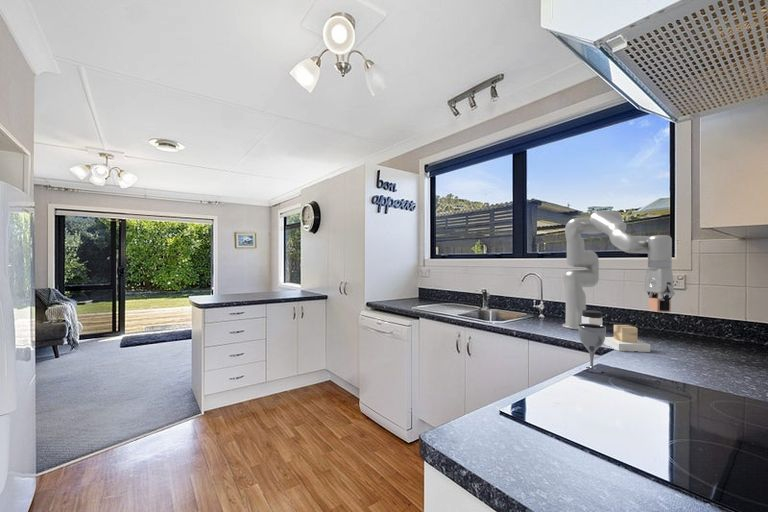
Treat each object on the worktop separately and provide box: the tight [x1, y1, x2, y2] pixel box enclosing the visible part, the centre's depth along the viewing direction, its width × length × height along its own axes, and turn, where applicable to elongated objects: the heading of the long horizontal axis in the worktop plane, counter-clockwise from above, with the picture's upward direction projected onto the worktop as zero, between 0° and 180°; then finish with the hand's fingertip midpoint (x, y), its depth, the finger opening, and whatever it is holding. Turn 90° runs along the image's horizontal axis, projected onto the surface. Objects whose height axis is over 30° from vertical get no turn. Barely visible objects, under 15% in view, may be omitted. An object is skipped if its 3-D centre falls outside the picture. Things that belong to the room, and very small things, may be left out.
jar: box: [582, 309, 603, 326], centre depth 162 cm, size 9×8×12 cm
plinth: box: [603, 336, 651, 353], centre depth 141 cm, size 12×12×3 cm
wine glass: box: [578, 324, 607, 369], centre depth 112 cm, size 8×8×15 cm
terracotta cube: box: [648, 297, 672, 313], centre depth 136 cm, size 5×5×5 cm
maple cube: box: [613, 324, 639, 342], centre depth 141 cm, size 6×6×6 cm
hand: (659, 309), depth 136 cm, fingers closed on terracotta cube, 5 cm apart
